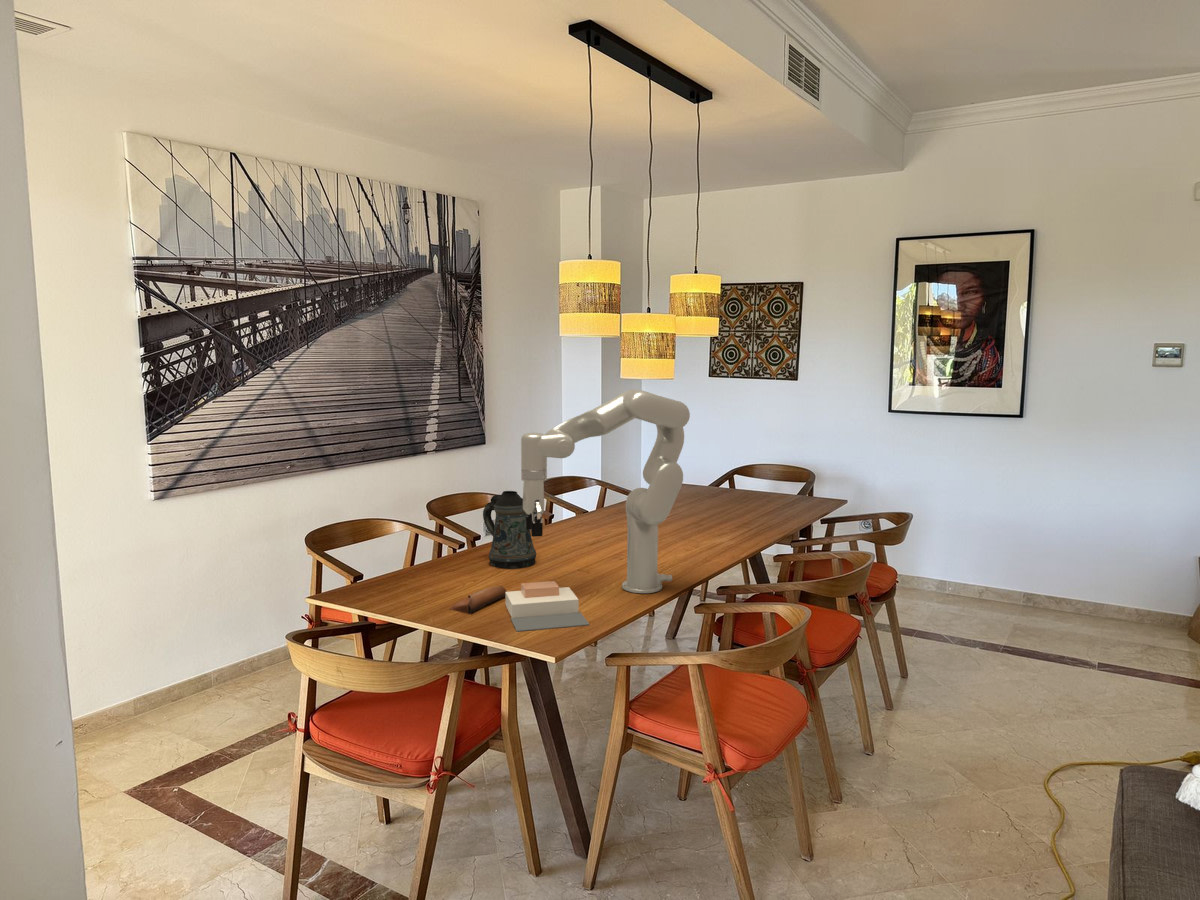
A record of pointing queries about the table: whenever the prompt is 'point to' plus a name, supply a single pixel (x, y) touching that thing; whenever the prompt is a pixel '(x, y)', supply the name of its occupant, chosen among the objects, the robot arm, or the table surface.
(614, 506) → the table surface
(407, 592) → the table surface
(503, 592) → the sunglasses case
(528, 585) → the tile
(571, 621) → the mat
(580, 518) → the table surface
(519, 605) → the block
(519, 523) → the beer stein
